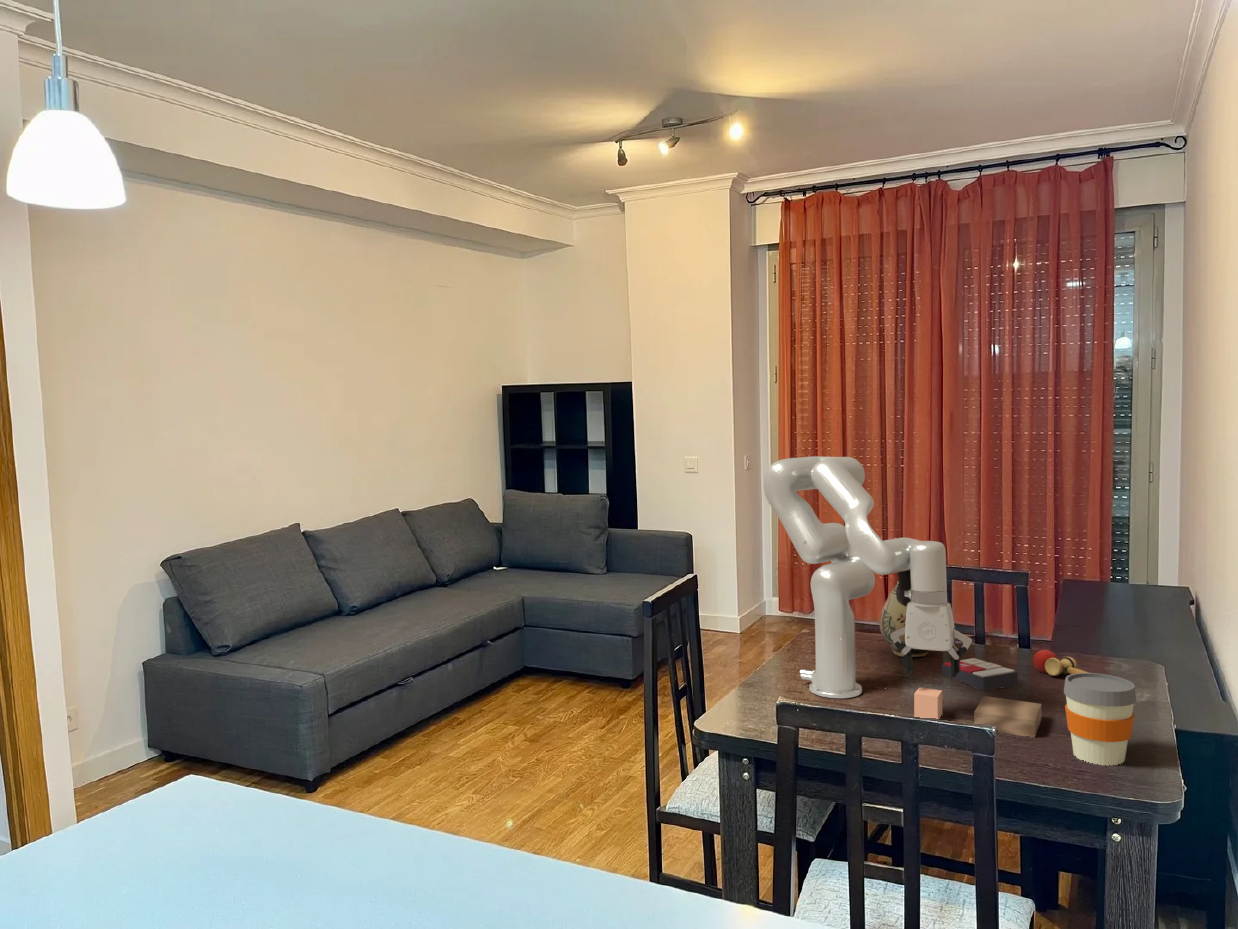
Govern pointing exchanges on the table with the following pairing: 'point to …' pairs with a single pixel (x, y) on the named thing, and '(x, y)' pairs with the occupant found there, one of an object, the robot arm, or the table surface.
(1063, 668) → the kendama
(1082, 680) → the reusable coffee cup
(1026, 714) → the base
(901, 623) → the ceramic jug
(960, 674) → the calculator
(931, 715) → the block
